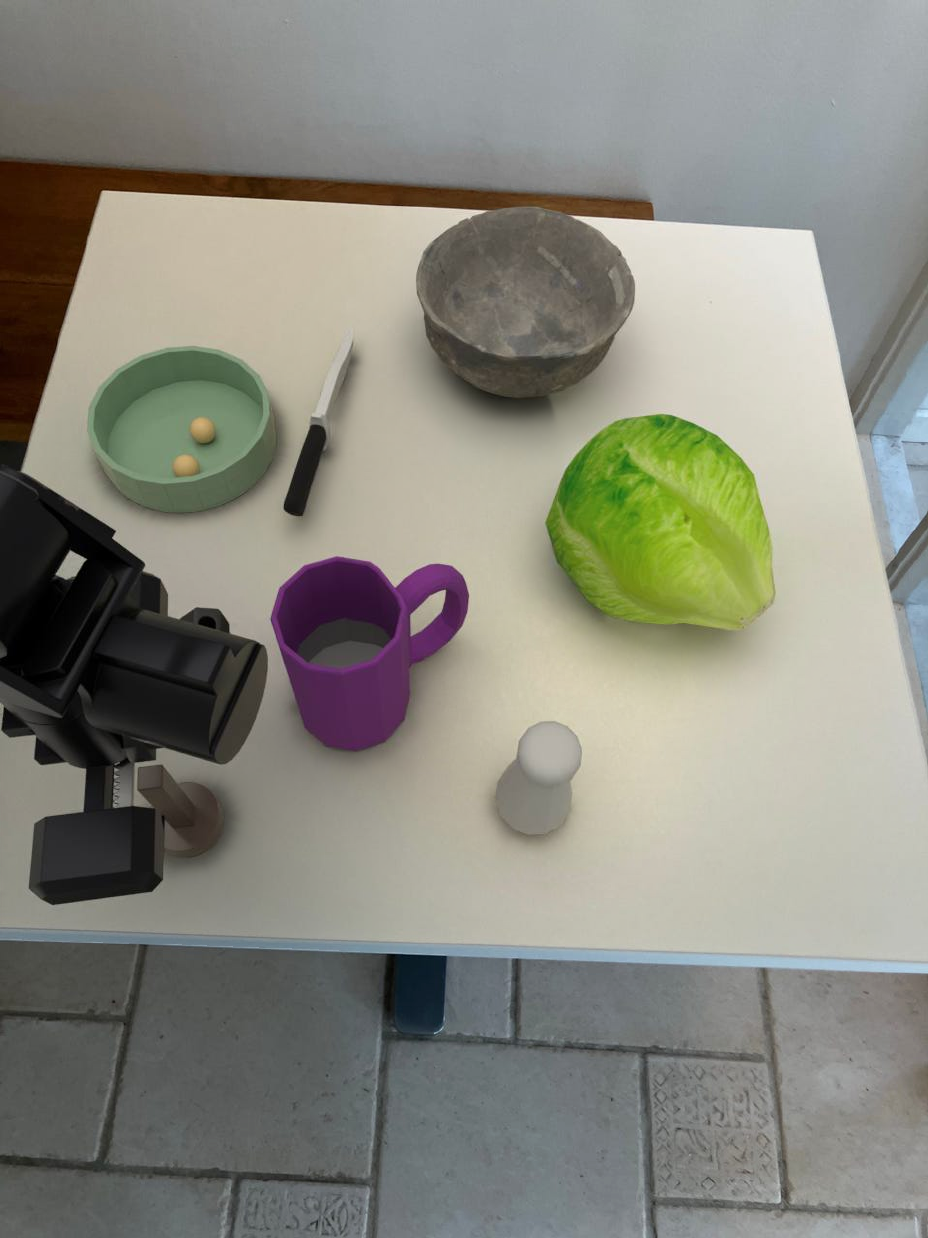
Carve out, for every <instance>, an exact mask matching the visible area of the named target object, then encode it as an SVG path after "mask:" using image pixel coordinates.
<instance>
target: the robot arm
mask: <svg viewBox="0 0 928 1238" xmlns="http://www.w3.org/2000/svg"><path fill="white" fill-rule="evenodd" d="M116 533H117V530H116V529H114V528H113V527H112V526H109V525H108V524H106V523H105V522H103V521H102V520H101V519H98V518H97V517H96V516H94V515H92V514H91V513H89V512H87V511H86V510H84V509H82V507H80V506H78V505H76V504H75V503H73V502H72V501H70V499H69V500H68V499H67V498H65V497H64V496H63V495H61V494H59V493H58V492H56V491H55V490H53V489H51V488H50V487H48V486H46V485H45V484H44V483H42V482H41V481H39V480H37V479H36V478H34V477H32V476H31V475H29V474H27V473H25V472H22V471H20V470H16V469H14V468H13V467H11V466H10V465H7V464H0V704H1V705H2V706H3V711H2V719H1V728H0V731H1V732H2V733H4V735H5V736H7V738H9V739H13V738H19V737H20V738H21V737H29V736H35V741H34V742H35V743H34V753H33V760H34V761H35V762H37V763H38V764H39V765H40V766H48V765H56V764H64V763H67V764H68V765H69V766H72V767H74V768H78V769H83V770H85V780H84V782H85V783H84V795H83V797H84V798H83V811H79V812H71V813H64V814H56V815H47V816H43V818H41V819H39V820H38V821H36V822H34V824H33V831H32V832H33V833H32V842H31V843H32V845H31V853H30V854H31V855H30V857H31V858H30V866H29V877H28V878H29V879H28V889H29V890H30V891H31V892H32V893H33V894H34V895H35V896H36V897H37V898H39V899H40V900H42V901H43V902H45V903H47V904H49V905H51V906H56V905H57V906H59V905H65V904H71V903H72V904H73V903H80V902H87V901H93V900H94V901H96V900H103V899H110V898H116V897H117V898H118V897H124V896H133V895H139V894H146V893H147V894H148V893H152V892H154V891H155V890H156V889H157V887H158V886H159V885H160V884H161V883H162V882H163V881H164V866H165V864H164V862H165V851H164V836H165V815H161V814H160V813H159V812H158V811H157V810H156V809H155V808H150V807H146V806H137V805H134V804H135V778H136V777H135V773H136V764H138V763H144V762H153V761H157V750H158V749H159V750H160V749H166V750H170V751H174V752H176V753H179V754H183V755H187V756H191V757H194V758H197V759H200V760H204V761H207V762H210V763H214V764H218V765H220V766H221V765H222V766H223V765H227V764H228V763H230V762H231V761H232V760H233V759H234V758H235V757H236V756H237V755H238V754H239V752H240V751H241V750H242V748H243V746H244V744H245V743H246V741H247V739H248V737H249V735H250V734H251V731H252V729H253V727H254V725H255V722H256V720H257V717H258V714H259V711H260V708H261V705H262V701H263V699H264V698H263V697H264V695H265V691H266V690H265V689H266V684H267V678H268V670H269V656H268V649H267V648H266V645H265V644H262V643H260V642H259V641H257V640H256V639H251V638H248V637H244V636H240V635H236V634H233V633H231V632H230V631H231V630H230V627H231V626H230V622H229V621H228V619H227V618H226V616H225V615H224V614H223V612H222V611H221V609H219V608H214V607H213V608H212V607H197V606H196V607H194V608H193V609H191V610H190V611H189V612H187V613H186V614H184V615H183V616H182V617H180V618H176V617H172V616H169V593H168V591H167V589H166V587H165V585H164V583H163V581H162V579H161V578H160V577H158V576H156V575H154V574H153V573H150V572H148V571H145V570H144V569H145V568H146V563H145V561H143V560H142V559H141V558H140V557H138V556H136V555H135V554H134V553H133V552H131V551H130V550H128V549H127V547H124V546H123V545H122V544H121V543H119V542H118V541H117V540H115V539H114V536H115V534H116ZM70 552H73V553H74V554H75V555H78V556H80V557H81V558H84V559H85V560H84V562H82V564H81V567H80V568H79V570H78V571H77V573H76V575H74V576H70V577H68V578H64V577H62V576H59V575H58V574H57V573H58V572H59V570H60V568H61V566H62V565H63V563H64V561H65V560H66V558H67V557H68V555H69V553H70ZM115 770H116V771H115ZM115 776H116V777H115ZM114 790H115V792H114ZM114 797H115V799H114Z"/></svg>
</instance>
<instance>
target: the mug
mask: <svg viewBox="0 0 928 1238" xmlns="http://www.w3.org/2000/svg"><path fill="white" fill-rule="evenodd" d="M443 591H445V595H444V602H443V604H442V608H441V612H440V613H439V614H438V615H437V616H436V617H435V618H434V619H433V620H432V621H431V622H430V623H429V624H427V626H425V627H424V628H423V629H422V630H420V631H419V632H417V633H415V634H413V635H412V633H411V632H412V631H411V629H412V628H411V627H412V625H411V622H412V621H411V615H412V614H413V613H414V612H415V611H416V610H417V609H419V607H420V606H421V605H423V603H425V602H426V600H427V599H429V597H430V596H432V595H435V594H437V593H439V592H443ZM469 600H470V593H469V589H468V584H467V582H466V579H465V576H464V575H463V574H462V573H461V572H460V571H459V570H458V569H456V568H455V567H454V566H453V565H450V564H445V563H444V564H443V563H429V564H427V565H425V566H422V567H419V568H418V569H416V570H414V571H413V572H412V573H410V574H409V575H407V576H406V577H405V578H404V579H402V581H400V582H399V583H398V584H397V585H396V586H394V585H393V583H392V582H391V581H390V579H389V578H388V576H387V575H386V574H385V573H384V572H383V571H382V569H381V568H380V567H379V566H377V565H376V564H374V563H373V562H372V561H369V560H363V559H356V558H350V557H344V556H338V555H336V556H333V557H328V558H326V559H322V560H317V561H314V562H312V563H308V564H304V565H303V566H302V567H301V568H299V570H296V572H295V573H294V574H293V575H292V576H291V577H289V578H288V579H287V580H286V581H285V582H284V583H282V585H281V586H280V587H279V588H278V591H277V593H276V597H275V601H274V604H273V608H272V612H271V614H270V623H271V626H272V629H273V632H274V635H275V640H276V642H277V646H278V649H279V651H280V655H281V658H282V661H283V664H284V667H285V670H286V673H287V677H288V679H289V682H290V686H291V689H292V692H293V695H294V698H295V701H296V705H297V708H298V711H299V714H300V718H301V720H302V724H303V727H304V729H306V730H307V731H308V732H309V733H310V734H312V735H313V736H314V737H315V738H316V739H317V740H318V741H320V742H321V743H322V744H324V745H325V746H326V747H328V748H329V747H330V748H334V749H340V750H347V751H352V752H358V751H361V750H364V749H367V748H370V747H373V746H376V745H379V744H382V743H385V742H386V741H387V740H388V739H389V737H390V736H391V735H393V733H394V732H395V731H396V730H397V729H398V728H399V727H400V726H401V724H403V722H404V721H405V719H406V714H407V710H408V705H409V701H410V696H411V685H410V683H411V682H410V680H411V679H410V668H411V667H412V666H413V665H415V664H418V663H421V662H423V661H425V660H426V659H428V658H430V657H431V656H433V655H435V654H436V653H438V652H439V651H440V650H441V649H443V648H444V646H446V645H447V644H448V643H450V642H451V641H452V640H453V638H454V637H455V636H456V634H457V633H458V632H459V631H460V629H461V628H462V627H463V625H464V622H465V620H466V618H467V615H468V611H469V603H470V602H469Z"/></svg>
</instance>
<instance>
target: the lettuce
mask: <svg viewBox="0 0 928 1238" xmlns="http://www.w3.org/2000/svg"><path fill="white" fill-rule="evenodd" d="M756 481H757V480H756V476H755V474H754V473H753V471H752V470H751V469H750V467H749V466H748V465H747V463H746V462H745V460H744V459H743V458H742V457H741V456H740V455H739V454H738V453H737V452H736V451H735V450H734V449H732V448H731V447H730V445H728V443H726V442H725V441H724V440H723V439H722V438H720V437H719V436H718V435H717V434H715V433H713V432H711V431H709V430H707V429H706V428H704V427H702V426H700V425H698V424H696V423H694V422H691V421H689V420H686V419H684V418H680V417H678V416H675V415H672V414H667V413H666V414H664V413H657V414H650V415H641V416H634V417H625V418H620V419H618V420H615V421H613V422H612V423H610V424H608V425H607V426H605V427H603V428H602V429H601V430H600V431H599V432H597V434H595V435H594V436H593V437H592V438H591V439H589V440H588V442H586V444H585V445H583V447H582V448H580V450H579V451H578V452H577V453H576V454H575V456H574V457H573V459H572V460H571V461H570V462H569V464H568V465H567V467H566V468H565V470H564V471H563V475H562V477H561V479H560V481H559V484H558V487H557V490H556V492H555V495H554V497H553V500H552V503H551V506H550V509H549V511H548V513H547V516H546V520H545V523H544V524H545V527H546V531H547V534H548V537H549V540H550V544H551V547H552V550H553V553H554V556H555V557H554V558H555V560H556V564H558V565H559V567H560V568H561V569H562V570H563V571H564V572H565V573H566V574H567V576H568V577H569V579H571V580H572V582H573V583H574V584H575V586H576V587H577V588H578V590H579V591H580V593H582V595H583V596H584V597H585V599H586V601H588V602H589V603H590V604H592V605H593V606H594V607H595V608H597V609H599V610H600V611H601V612H603V613H604V614H606V615H608V616H610V617H614V618H618V619H623V620H627V621H631V622H636V623H644V624H645V623H646V624H656V625H676V624H690V625H697V626H702V627H703V626H704V627H709V628H714V629H716V628H717V629H722V630H728V631H740V630H746V629H747V628H748V627H750V626H751V625H752V624H753V623H754V622H755V621H756V620H757V619H759V618H760V617H761V616H762V615H763V614H764V613H765V612H766V611H768V609H770V608H771V607H772V606H773V605H774V604H775V598H776V594H777V593H776V587H775V580H774V579H775V578H774V573H773V572H774V571H773V551H774V550H773V549H774V548H773V543H772V538H771V533H770V529H769V525H768V521H767V518H766V515H765V512H764V509H763V505H762V501H761V497H760V493H759V490H758V486H757V482H756Z"/></svg>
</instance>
